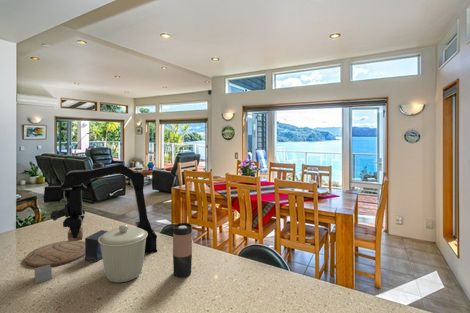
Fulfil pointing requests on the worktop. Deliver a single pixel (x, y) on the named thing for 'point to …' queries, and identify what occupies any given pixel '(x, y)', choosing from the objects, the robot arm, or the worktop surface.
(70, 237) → the walnut block
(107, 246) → the canister
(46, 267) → the slate block
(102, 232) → the small box
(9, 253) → the worktop surface
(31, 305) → the worktop surface
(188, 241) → the travel mug
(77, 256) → the trivet
